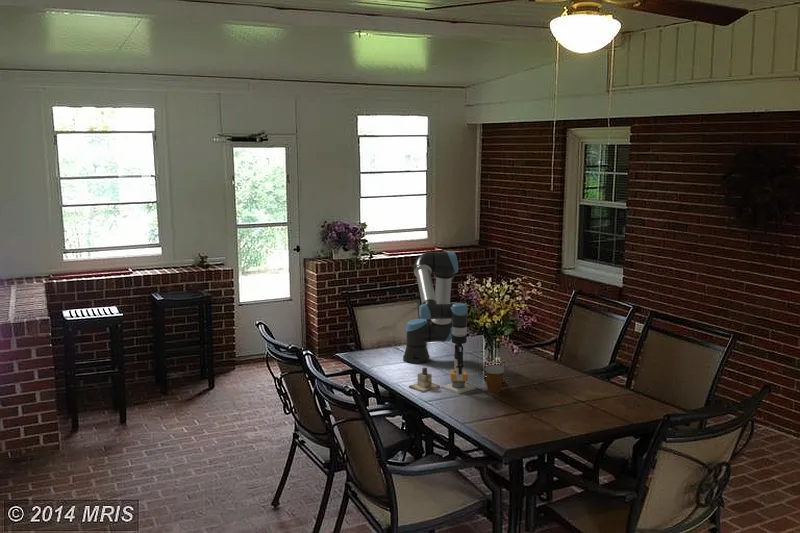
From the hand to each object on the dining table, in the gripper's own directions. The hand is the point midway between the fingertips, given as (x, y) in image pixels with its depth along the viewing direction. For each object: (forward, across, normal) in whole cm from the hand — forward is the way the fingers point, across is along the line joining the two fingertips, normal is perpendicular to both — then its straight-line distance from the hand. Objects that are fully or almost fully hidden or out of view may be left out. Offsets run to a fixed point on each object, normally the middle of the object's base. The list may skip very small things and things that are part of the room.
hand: (458, 376), depth 367 cm
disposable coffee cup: (+6, +4, +18) cm, 19 cm away
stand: (+6, -1, -17) cm, 18 cm away
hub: (+6, 0, 0) cm, 6 cm away
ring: (+1, 0, 0) cm, 1 cm away
